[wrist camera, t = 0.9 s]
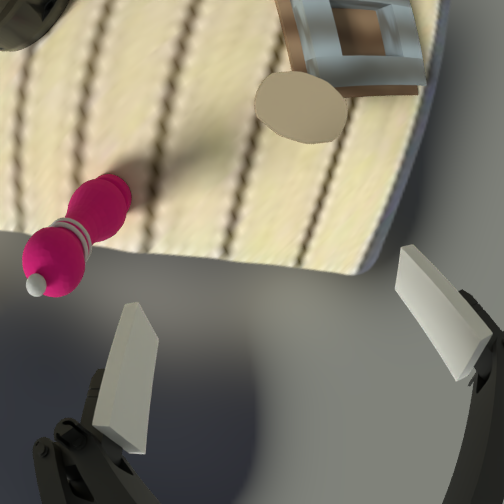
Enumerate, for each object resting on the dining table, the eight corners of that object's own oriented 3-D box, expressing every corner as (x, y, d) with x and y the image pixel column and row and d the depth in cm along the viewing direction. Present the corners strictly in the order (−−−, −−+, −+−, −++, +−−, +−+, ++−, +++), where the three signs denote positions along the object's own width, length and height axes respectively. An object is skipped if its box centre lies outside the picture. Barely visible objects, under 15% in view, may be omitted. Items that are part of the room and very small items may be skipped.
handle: (247, 77, 28) (268, 60, 15) (300, 93, 30) (355, 93, 17) (236, 114, 31) (247, 126, 18) (288, 129, 32) (334, 154, 19)
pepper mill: (127, 163, 32) (43, 241, 15) (141, 216, 36) (86, 325, 18) (79, 177, 32) (-16, 257, 14) (95, 226, 35) (25, 329, 18)
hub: (268, -21, 22) (276, -36, 17) (390, -15, 21) (410, -23, 17) (298, 102, 30) (310, 103, 26) (414, 94, 30) (436, 97, 26)
